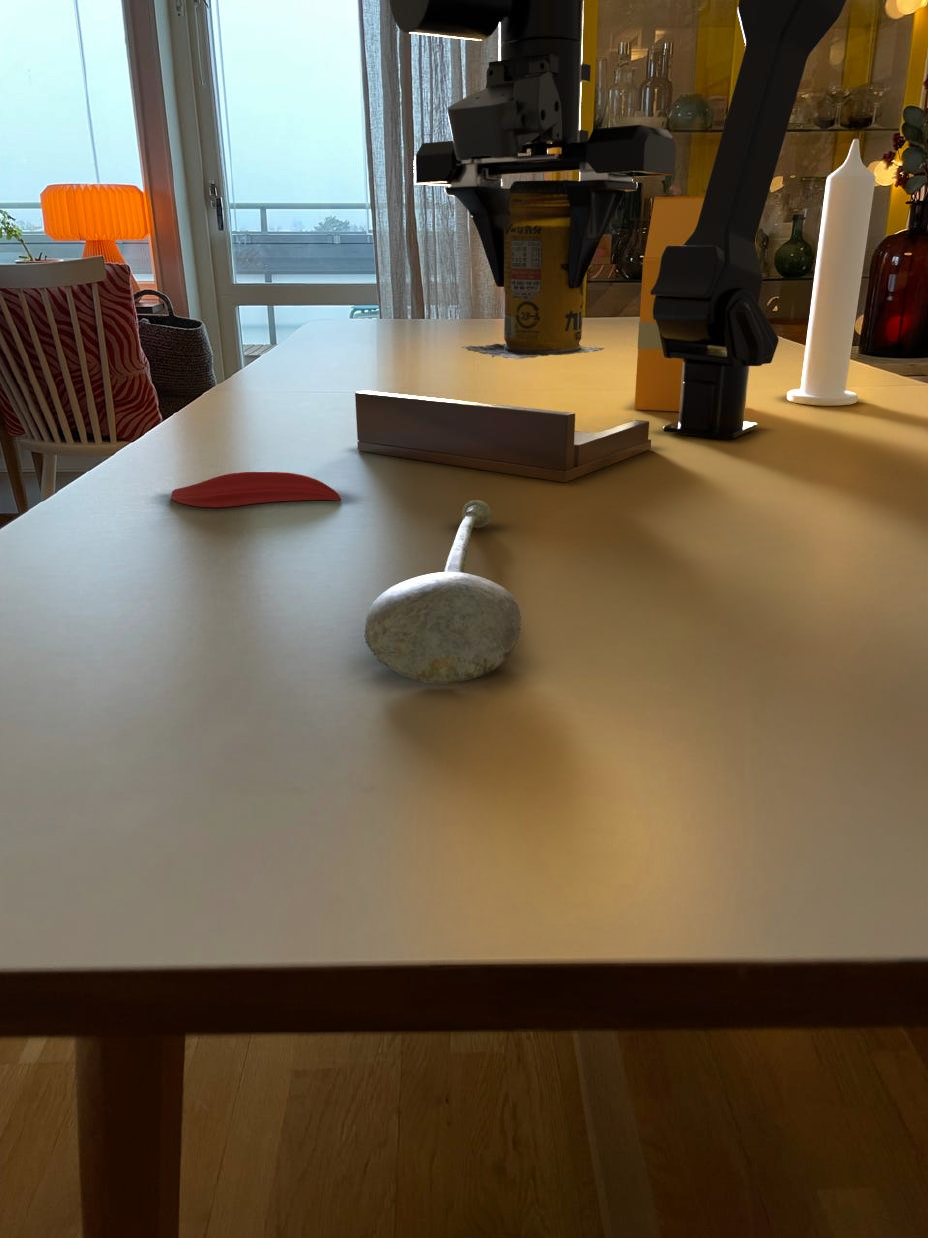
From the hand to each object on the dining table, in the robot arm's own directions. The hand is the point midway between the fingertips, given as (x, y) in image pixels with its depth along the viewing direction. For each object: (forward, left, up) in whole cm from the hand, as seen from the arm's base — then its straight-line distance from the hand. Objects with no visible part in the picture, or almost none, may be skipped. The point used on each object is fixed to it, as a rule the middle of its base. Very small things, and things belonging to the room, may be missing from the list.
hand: (537, 287), depth 70 cm
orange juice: (-30, -1, -13) cm, 33 cm away
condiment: (0, -1, -5) cm, 5 cm away
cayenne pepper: (+22, -9, -13) cm, 27 cm away
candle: (-41, +10, -13) cm, 44 cm away
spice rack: (-1, -4, -13) cm, 13 cm away
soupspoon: (+28, +13, -13) cm, 34 cm away
